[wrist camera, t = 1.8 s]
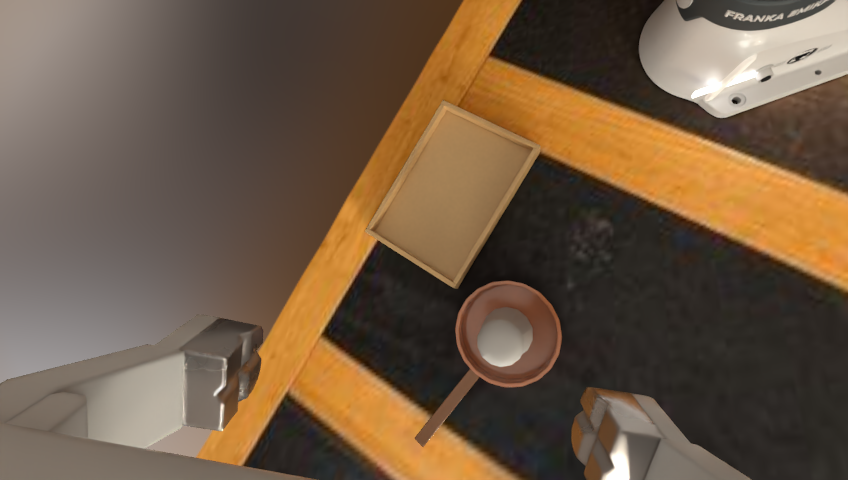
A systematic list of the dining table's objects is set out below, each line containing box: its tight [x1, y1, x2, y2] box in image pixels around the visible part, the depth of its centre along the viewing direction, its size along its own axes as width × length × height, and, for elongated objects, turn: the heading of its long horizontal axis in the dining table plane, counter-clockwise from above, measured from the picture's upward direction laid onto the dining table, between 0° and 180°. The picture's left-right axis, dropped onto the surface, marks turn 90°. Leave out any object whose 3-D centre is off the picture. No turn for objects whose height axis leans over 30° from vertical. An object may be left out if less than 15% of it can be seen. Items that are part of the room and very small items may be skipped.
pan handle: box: [415, 369, 479, 447], centre depth 46 cm, size 11×1×1 cm, turn 141°
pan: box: [455, 281, 562, 387], centre depth 46 cm, size 12×12×3 cm
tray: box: [365, 100, 540, 289], centre depth 50 cm, size 20×14×2 cm
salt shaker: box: [477, 307, 533, 367], centre depth 41 cm, size 6×6×13 cm
